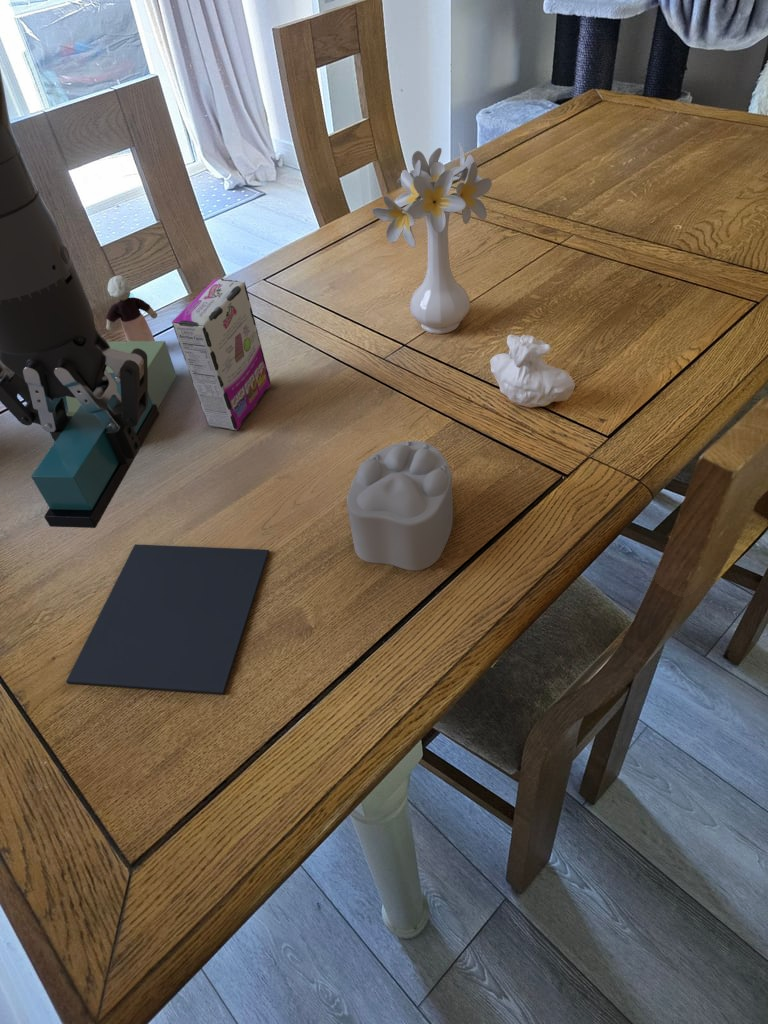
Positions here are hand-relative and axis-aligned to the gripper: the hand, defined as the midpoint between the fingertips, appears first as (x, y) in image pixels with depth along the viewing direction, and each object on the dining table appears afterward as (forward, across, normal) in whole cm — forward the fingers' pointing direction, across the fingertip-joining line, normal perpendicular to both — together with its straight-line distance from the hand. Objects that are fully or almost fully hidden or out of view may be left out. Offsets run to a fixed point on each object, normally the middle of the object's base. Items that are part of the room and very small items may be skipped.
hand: (105, 457), depth 60 cm
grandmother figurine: (+20, -22, +48) cm, 57 cm away
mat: (+20, +1, -2) cm, 20 cm away
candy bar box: (+20, -2, +34) cm, 40 cm away
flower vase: (+20, +25, +55) cm, 64 cm away
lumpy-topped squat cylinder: (+20, +24, +12) cm, 34 cm away
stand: (+20, -19, +33) cm, 43 cm away
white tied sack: (+20, +38, +36) cm, 56 cm away
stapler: (+1, 0, 0) cm, 1 cm away
